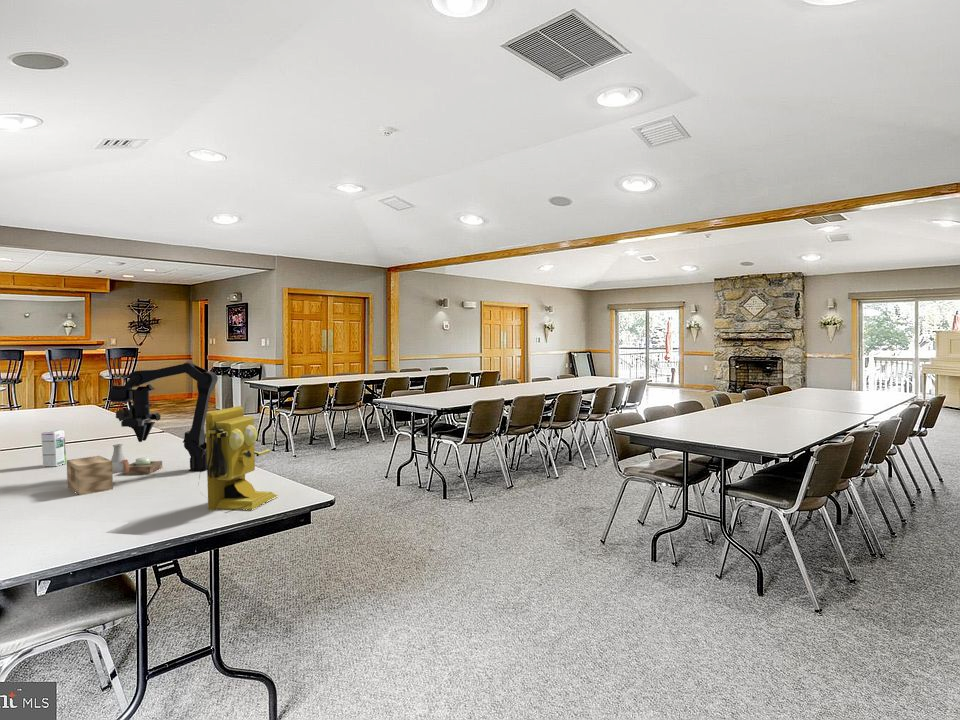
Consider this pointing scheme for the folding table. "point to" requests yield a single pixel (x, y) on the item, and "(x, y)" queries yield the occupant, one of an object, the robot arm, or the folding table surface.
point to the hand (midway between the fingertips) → (142, 441)
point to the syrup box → (53, 448)
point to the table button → (142, 461)
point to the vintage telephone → (231, 460)
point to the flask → (117, 453)
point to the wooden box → (89, 474)
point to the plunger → (120, 467)
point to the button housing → (144, 468)
